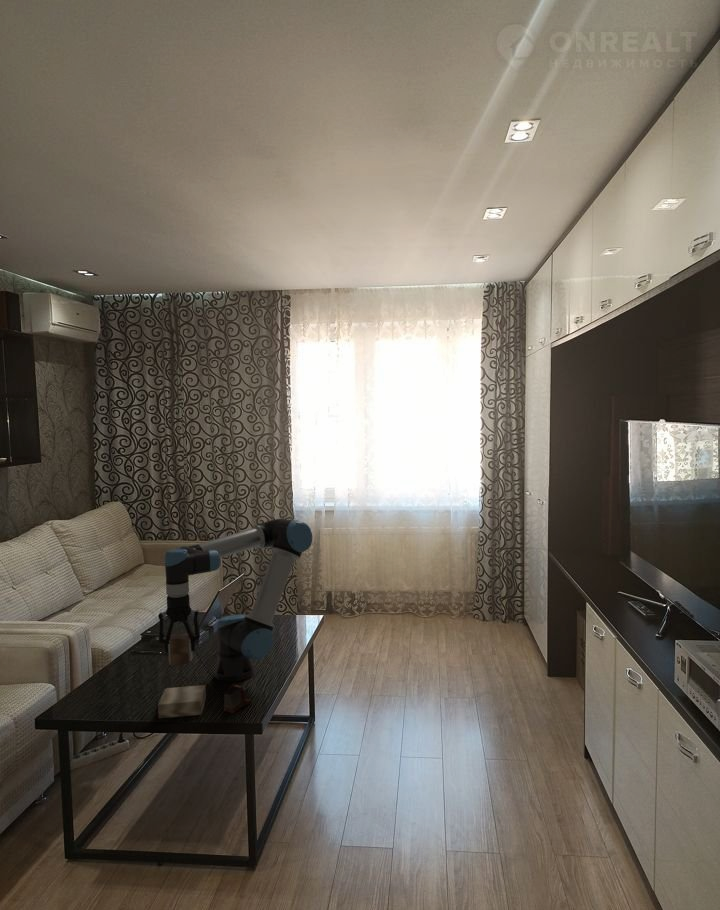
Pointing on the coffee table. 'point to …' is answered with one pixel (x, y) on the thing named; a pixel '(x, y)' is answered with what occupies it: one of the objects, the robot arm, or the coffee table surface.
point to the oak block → (182, 701)
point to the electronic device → (235, 699)
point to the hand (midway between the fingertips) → (180, 660)
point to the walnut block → (179, 649)
